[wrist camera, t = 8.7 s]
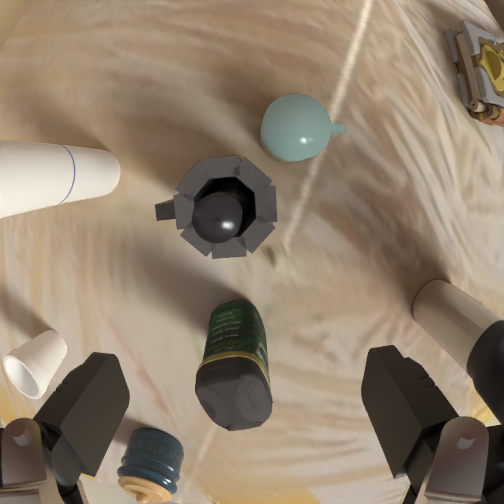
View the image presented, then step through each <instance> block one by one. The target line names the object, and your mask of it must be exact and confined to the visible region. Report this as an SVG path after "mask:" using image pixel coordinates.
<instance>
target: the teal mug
mask: <svg viewBox="0 0 504 504" xmlns="http://www.w3.org/2000/svg"><path fill="white" fill-rule="evenodd" d="M343 133H345V125H344V124H331V121H330V118H329V115H328V113H327V112H326V110H325V109H324V107H323V106H322V105H321V104H320V103H319V102H318V101H316V100H315V99H313V98H311V97H309V96H306V95H303V94H287V95H284V96H281V97H279V98H277V99H276V100H274V101H273V102H272V103H271V104H270V105H269V107H268V108H267V110H266V112H265V114H264V118H263V121H262V125H261V129H260V143H261V146H262V148H263V150H264V151H265V153H266V154H267V155H268V156H269V157H271V158H272V159H274V160H275V161H278V162H281V163H294V162H298V161H301V160H304V159H307V158H310V157H313V156H315V155H317V154H318V153H320V152H321V151H322V150H323V149H324V148H325V146H326V145H327V143H328V141H329V139H330V138H334V137H336V136H338V135H340V134H343Z"/></svg>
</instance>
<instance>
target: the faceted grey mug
mask: <svg viewBox="0 0 504 504" xmlns="http://www.w3.org/2000/svg"><path fill="white" fill-rule="evenodd" d="M271 181H272V180H271V179H270V178H269V177H267V176H266V175H265V174H264V173H263V172H262V171H260V170H259V169H258V168H257V167H256V166H255V165H253V164H252V163H251V162H250V161H249V160H247V159H246V158H244V159H243V160H242V161H241V160H240V158H239V155H238V156H226V157H215V158H206V159H203V164H202V163H199V162H197V163H196V164H195V165H194V166H193V168H192V169H191V170H190V171H189V172H188V174H187V175H186V176H185V177H184V179H183V180H182V181H181V182H180V184H179V185H178V186H177V187H176V189H175V190H177V191H178V192H179V193H180V194H177V195H173V197H174V199H172V200H168V201H165V202H162V203H159V204H156V205H155V209H156V218H157V221H159V220H169V219H176V225H177V230H178V229H185V230H184V231H183V232H182V233H181V235H180V236H182V237H183V238H184V239H185V240H186V241H188V242H189V243H190V244H191V245H192V246H194V247H195V248H196V249H197V250H199V251H200V252H201V253H202V254H203V255H205V256H206V257H207V255H208V254H209V253H210V252H211V251H212V259H216V258H230V257H244V256H246V251H247V250H249V251H250V252H251V253H253V252H254V251H255V250H256V249H257V248H258V246H259V245H260V244H261V243H262V242H263V241H264V240H265V239H266V237H267V236H268V235H269V234H270V233H271V232H272V231H273V230H274V228H275V227H274V225H273V223H272V222H277V208H276V192H275V186H272V185H269V184H270V183H271ZM228 183H235V184H238V185H240V186H242V187H243V188H244V189H245V191H246V193H247V196H248V203H247V206H246V208H245V210H244V211H243V212H242V219H241V225H240V228H239V230H238V232H237V233H236V235H235V236H234V237H233V238H232V239H230V240H228V241H226V242H223V243H210V242H207V241H205V240H203V239H202V238H200V237H199V236H198V234H197V233H196V232H195V230H194V228H193V225H192V213H193V209H194V207H195V205H196V204H197V203H198V202H199V201H200V200H201V199H202V198H204V197H206V196H208V195H210V194H212V193H215V192H217V190H218V189H219V188H220V187H221V186H223V185H225V184H228Z"/></svg>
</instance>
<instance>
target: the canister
mask: <svg viewBox="0 0 504 504" xmlns="http://www.w3.org/2000/svg"><path fill="white" fill-rule="evenodd" d="M183 456H184V452H183V447H182V445H181V443H180V442H179V441H178V440H177V439H175V438H174V437H172V436H171V435H169V434H167V433H164V432H162V431H159V430H155V429H138V430H136V431H135V432H134V433H133V434H132V435H131V436H130V439H129V442H128V446H127V449H126V451H125V454H124V456H123V457H122V459H121V463H122V466H121V467H119V468H118V470H117V473H118V476H119V477H120V478H119V479H118V483H119V485H120V486H121V487H122V488H123V489H124V490H125V491H126V492H127V493H128V494H129V495H131V496H132V497H134V498H136V500H137V501H138V502H139V503H141V504H145V503H147V502H150V503H161V502H166V501H169V500H170V499H171V497H172V496H171V495H172V494H174V493H176V491H177V486H176V482H178V480H179V473H180V468H181V463H182V460H183Z"/></svg>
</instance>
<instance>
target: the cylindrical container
mask: <svg viewBox="0 0 504 504" xmlns="http://www.w3.org/2000/svg"><path fill="white" fill-rule="evenodd" d="M119 178H120V165H119V162H118V159H117V158H116V156H115V155H114V154H112V153H111V152H109V151H106V150H100V149H92V148H85V147H77V146H68V145H59V144H50V143H39V142H27V141H13V140H0V218H3V217H7V216H11V215H15V214H19V213H23V212H27V211H32V210H36V209H40V208H45V207H49V206H54V205H58V204H63V203H68V202H73V201H78V200H84V199H89V198H95V197H100V196H105V195H107V194H109V193H111V192H112V191H113V190H114V188H115V187H116V186H117V184H118V181H119Z"/></svg>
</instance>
